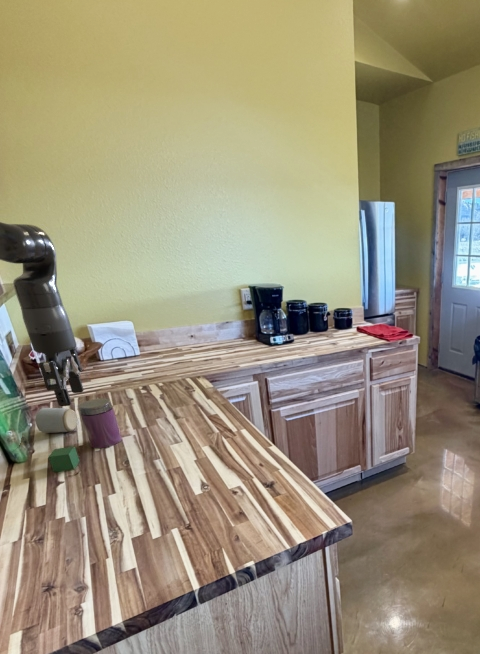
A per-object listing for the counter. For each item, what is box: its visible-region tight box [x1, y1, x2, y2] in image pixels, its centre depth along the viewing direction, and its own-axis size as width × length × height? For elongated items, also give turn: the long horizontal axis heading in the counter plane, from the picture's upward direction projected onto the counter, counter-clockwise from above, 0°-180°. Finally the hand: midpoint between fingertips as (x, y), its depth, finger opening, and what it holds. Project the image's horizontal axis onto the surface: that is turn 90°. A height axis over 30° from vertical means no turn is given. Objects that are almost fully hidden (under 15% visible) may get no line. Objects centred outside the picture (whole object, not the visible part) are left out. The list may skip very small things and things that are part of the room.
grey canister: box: [35, 407, 80, 434], centre depth 128 cm, size 11×8×8 cm
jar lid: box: [78, 398, 113, 415], centre depth 117 cm, size 8×8×2 cm
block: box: [47, 446, 80, 473], centre depth 108 cm, size 4×4×4 cm
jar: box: [79, 406, 123, 449], centre depth 119 cm, size 8×8×12 cm
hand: (72, 398), depth 95 cm, fingers open, 8 cm apart
